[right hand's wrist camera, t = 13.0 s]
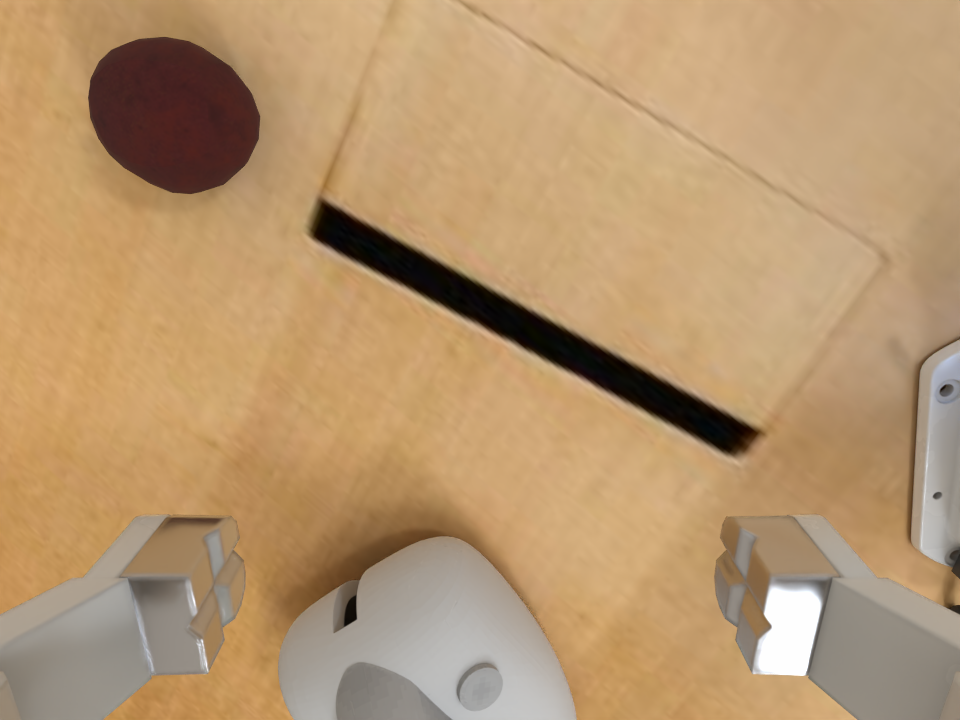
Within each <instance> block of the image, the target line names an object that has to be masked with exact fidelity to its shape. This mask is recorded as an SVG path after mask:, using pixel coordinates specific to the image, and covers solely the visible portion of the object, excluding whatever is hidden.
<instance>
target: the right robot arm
mask: <svg viewBox="0 0 960 720" xmlns="http://www.w3.org/2000/svg"><path fill="white" fill-rule="evenodd" d="M944 385H946V386H945V388H944V389H943V390H942V391H940V389H941V388H942V387H943V386H944ZM239 538H240V536H239V531H238V526H237V521H236V520H235V519H234V518H233V517H232V516H213V515H141V516H138V517H135V518H134V519H133V521H132V522H131V523H130V524H129V525H128V526H127V527H126V529H125V530H124V531H123V532H122V533H121V534H120V535H119V537H118V538H117V539H116V540H115V541H114V542H113V543H112V545H111V546H110V547H109V548H108V549H107V550H106V552H105V553H104V554H103V555H102V556H101V557H100V558H99V560H98V561H97V562H96V563H95V564H94V565H93V566H92V568H91V569H90V570H89V571H88V572H87V573H86V574H85V576H84V577H83V578H71V579H69V580H68V581H66V582H64V583H62V584H60V585H58V586H56V587H54V588H52V589H50V590H48V591H46V592H44V593H42V594H40V595H38V596H36V597H34V598H32V599H30V600H28V601H26V602H24V603H22V604H20V605H18V606H16V607H14V608H12V609H10V610H8V611H6V612H4V613H2V614H0V720H103V719H104V718H105V717H106V716H108V715H109V714H110V713H111V712H112V711H114V710H115V709H116V708H117V707H118V706H120V705H121V704H122V703H123V702H124V701H125V700H127V699H128V698H129V697H130V696H131V695H133V694H134V693H135V692H136V691H137V690H138V689H140V688H141V687H142V686H143V685H144V684H146V683H147V682H148V681H149V680H150V679H151V675H183V674H208V672H209V670H210V668H211V666H212V664H213V662H214V660H215V658H216V656H217V654H218V652H219V650H220V648H221V646H222V644H223V642H224V634H223V627H224V626H225V625H227V624H228V623H230V622H231V621H232V620H234V619H235V617H236V615H237V613H238V611H239V609H240V607H241V604H242V599H243V595H244V590H245V567H244V560H243V559H242V558H241V557H240V556H239V555H238V554H237V553H236V552H235V551H234V550H233V549H234V547H235V546H236V544H237V542H238V540H239ZM720 538H721V540H722V542H723V544H724V546H725V547H726V549H727V550H726V551H725V552H724V553H723V554H722V555H721V556H720V557H719V558H718V559H717V560H716V568H715V576H714V578H715V590H716V596H717V600H718V603H719V607H720V609H721V611H722V613H723V615H724V617H725V619H726V620H728V621H729V622H730V623H732V624H733V625H735V626H736V627H738V628H737V634H736V642H737V644H738V646H739V648H740V650H741V652H742V654H743V656H744V658H745V660H746V662H747V664H748V666H749V668H750V670H751V672H752V674H776V675H809V677H808V678H809V679H810V680H811V681H812V682H814V683H815V684H816V685H817V686H818V687H819V688H821V689H822V690H823V691H824V692H825V693H827V694H828V695H829V696H830V697H831V698H832V699H834V700H835V701H836V702H837V703H838V704H840V705H841V706H842V707H843V708H844V709H845V710H847V711H848V712H849V713H850V714H851V715H853V716H854V717H855V718H856V719H857V720H960V605H955V606H953V607H952V608H951V609H948V608H946V607H944V606H942V605H940V604H938V603H936V602H934V601H932V600H930V599H928V598H926V597H924V596H922V595H920V594H918V593H916V592H914V591H912V590H910V589H908V588H906V587H904V586H902V585H900V584H898V583H896V582H894V581H892V580H891V579H889V578H877V577H876V576H875V574H874V573H873V572H872V571H871V570H870V569H869V568H868V566H867V565H866V564H865V563H864V562H863V561H862V560H861V558H860V557H859V556H858V555H857V554H856V553H855V552H854V550H853V549H852V548H851V547H850V546H849V545H848V544H847V542H846V541H845V540H844V539H843V538H842V537H841V535H840V534H839V533H838V532H837V531H836V530H835V529H834V527H833V526H832V525H831V524H830V523H829V522H828V521H827V519H826V518H824V517H823V516H820V515H818V514H806V515H787V516H739V517H726V518H725V520H724V522H723V525H722V530H721V535H720ZM911 543H912V545H913V546H914V547H915V548H916V549H917V550H919V551H920V552H921V553H923V554H924V555H925V556H927V557H929V558H930V559H932V560H934V561H936V562H938V563H941V564H943V565H946V566H949V567H953V569H952V572H953V573H954V574H955V575H956V576H957V577H958V578H959V579H960V339H959V340H957V341H955V342H953V343H952V344H950V345H948V346H946V347H944V348H942V349H941V350H939V351H937V352H936V353H934V354H933V355H931V356H930V357H929V358H928V359H927V360H926V361H925V362H924V364H923V365H922V367H921V370H920V378H919V396H918V414H917V432H916V450H915V468H914V486H913V504H912V523H911Z"/></svg>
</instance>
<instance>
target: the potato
mask: <svg viewBox="0 0 960 720" xmlns="http://www.w3.org/2000/svg"><path fill="white" fill-rule="evenodd" d="M88 100H89V109H90V118H91V121H92V123H93V126H94V129H95V131H96V134H97V136H98V139H99V140H100V141H101V143H102V144H103V146H104V147H105V149H106V150H107V152H108V153H109V154H110V155H111V156H112V157H113V158H114V159H115V160H116V161H117V162H118V163H119V164H120V165H122V166H123V167H124V168H125V169H127V170H129V171H130V172H132V173H134V174H136V175H137V176H139V177H141V178H142V179H144V180H145V181H147V182H148V183H150V184H153V185H155V186H157V187H160V188H162V189H165V190H167V191H170V192H172V193H185V194H193V193H198V192H202V191H205V190H208V189H211V188H214V187H217V186H220V185H224V184H225V183H226V182H227V181H228V180H229V179H230V178H231V177H233V176H234V175H235V174H236V173H237V172H238V171H239V170H240V169H241V168H243V167H244V166H245V165H246V163H247V162H248V160H249V158H250V156H251V154H252V152H253V150H254V148H255V145H256V143H257V141H258V139H259V124H260V115H259V112H258V109H257V107H256V104H255V101H254V98H253V96H252V94H251V92H250V90H249V89H248V88H247V87H246V85H245V84H244V83H243V81H242V80H241V79H240V78H239V76H238V75H237V74H236V73H235V71H234V70H233V69H232V68H231V67H230V66H229V65H227V64H226V63H224V62H223V61H221V60H220V59H218V58H217V57H216V56H214V55H213V54H211V53H210V52H208V51H207V50H205V49H204V48H202V47H200V46H198V45H195V44H193V43H191V42H189V41H184V40H179V39H173V38H168V37H159V38H147V39H138V40H135V41H132V42H129V43H127V44H124V45H122V46H120V47H117V48H115V49H113V50H111V51H110V52H109V53H108V54H107V55H106V56H105V57H104V58H103V59H102V60H100V61H99V63H98V65H97V67H96V69H95V71H94V73H93V75H92V77H91V80H90V89H89V96H88Z"/></svg>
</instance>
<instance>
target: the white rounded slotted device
mask: <svg viewBox="0 0 960 720" xmlns="http://www.w3.org/2000/svg"><path fill="white" fill-rule="evenodd" d="M278 674H279V682H280V688H281V691H282V695H283V698H284V701H285V703H286V706H287V708H288V710H289V712H290V714H291V716H292V717H293V719H294V720H577V718H576V712H575V706H574V702H573V698H572V695H571V691H570V688H569V685H568V682H567V680H566V677H565V674H564V672H563V669H562V667H561V665H560V662H559V660H558V658H557V656H556V654H555V652H554V650H553V648H552V646H551V645H550V643H549V641H548V639H547V638H546V636H545V634H544V633H543V631H542V629H541V628H540V626H539V625H538V623H537V621H536V620H535V618H534V617H533V616H532V614H531V613H530V611H529V610H528V608H527V607H526V605H525V604H524V603H523V601H522V600H521V599H520V598H519V596H518V595H517V594H516V592H515V591H514V590H513V588H512V587H511V586H510V585H509V584H508V582H507V581H506V580H505V579H504V578H503V576H502V575H501V574H500V573H499V572H498V571H497V570H496V569H495V567H494V566H493V565H492V564H491V563H490V562H489V561H488V560H487V559H486V558H485V557H484V556H483V555H482V554H481V553H480V552H479V551H477V550H476V549H475V548H474V547H472V546H471V545H470V544H468V543H466V542H465V541H463V540H461V539H458V538H455V537H449V536H439V537H433V538H429V539H425V540H421V541H418V542H416V543H414V544H411V545H409V546H407V547H405V548H403V549H401V550H399V551H397V552H396V553H394V554H392V555H390V556H389V557H387V558H385V559H383V560H382V561H380V562H378V563H377V564H375V565H373V566H372V567H370V568H368V569H367V570H366V571H365V572H364V574H363V575H362V577H361V579H360V580H351V581H348V582H346V583H344V584H342V585H341V586H339V587H338V588H336V589H334V590H333V591H331V592H330V593H328V594H327V595H325V596H324V597H322V598H321V599H319V600H318V601H316V602H315V603H314V604H312V605H311V606H310V607H308V608H307V609H306V610H305V611H304V612H302V613H301V614H300V616H299V617H298V618H297V619H296V620H295V621H294V622H293V624H292V625H291V627H290V628H289V630H288V632H287V634H286V636H285V638H284V641H283V643H282V646H281V650H280V655H279V662H278Z"/></svg>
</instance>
